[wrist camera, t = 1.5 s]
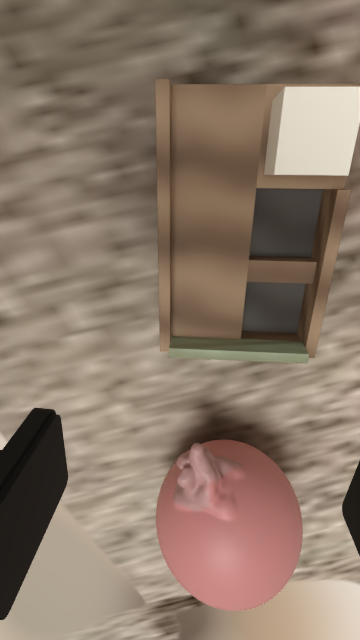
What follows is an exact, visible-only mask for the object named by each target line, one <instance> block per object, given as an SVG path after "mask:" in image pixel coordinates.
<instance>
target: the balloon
mask: <svg viewBox="0 0 360 640" xmlns="http://www.w3.org/2000/svg"><path fill="white" fill-rule="evenodd" d="M156 527H157V535H158V540H159V544H160V548H161V551H162V554H163V556H164V559H165V561H166V563H167V565H168V567H169V569H170V570H171V572H172V574H173V575H174V577H175V578H176V579H177V581H178V582H179V583H180V584H181V585H182V586H183V587H184V588H185V589H186V590H187V591H188V592H189V593H190V594H191V595H193V596H194V597H195V598H197V599H198V600H200V601H202V602H203V603H205V604H207V605H210V606H213V607H215V608H219V609H223V610H230V611H239V610H240V611H241V610H247V609H252V608H255V607H258V606H260V605H262V604H263V603H266V602H267V601H269V600H270V599H272V598H273V597H274V596H276V595H277V594H278V593H279V592H280V591H281V590H282V589H283V588H284V586H285V585H286V584H287V582H288V581H289V579H290V578H291V576H292V574H293V572H294V570H295V568H296V565H297V562H298V559H299V556H300V552H301V546H302V534H303V531H302V517H301V512H300V507H299V504H298V500H297V497H296V495H295V492H294V490H293V488H292V486H291V484H290V482H289V481H288V479H287V477H286V476H285V474H284V473H283V472H282V470H281V469H280V468H279V467H278V465H277V464H276V463H275V462H274V461H273V460H272V459H270V458H269V457H268V456H267V455H266V454H264V453H263V452H261V451H260V450H258V449H257V448H255V447H253V446H251V445H248V444H246V443H243V442H239V441H235V440H213V441H208V442H205V443H202V444H199V443H194V444H193V445H192V447H191V449H190V450H189V451H187V452H185V453H183V454H181V455H180V456H179V457H178V459H177V461H176V462H175V463H174V465H173V466H172V467H171V469H170V470H169V472H168V474H167V475H166V477H165V479H164V482H163V484H162V487H161V490H160V493H159V497H158V502H157V510H156Z"/></svg>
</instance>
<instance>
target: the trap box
mask: <svg viewBox="0 0 360 640" xmlns="http://www.w3.org/2000/svg"><path fill="white" fill-rule="evenodd" d="M284 87H360V84H171V82H170V79H155V89H156V147H157V205H158V263H159V321H160V351H168V352H169V357H171V358H194V359H217V360H240V361H262V362H285V363H307V362H308V358H314V357H315V353H316V348H317V344H318V339H319V335H320V330H321V326H322V321H323V316H324V312H325V307H326V303H327V298H328V294H329V289H330V285H331V280H332V275H333V271H334V266H335V262H336V257H337V253H338V248H339V244H340V239H341V234H342V230H343V225H344V221H345V216H346V212H347V207H348V203H349V198H350V193H351V190H345V189H344V186H345V182H346V177H347V176H326V175H264V170H265V161H266V152H267V143H268V134H269V125H270V116H271V107H272V100H273V99H274V98H275V97H276V96H277V95H278V94H279V93H280V92H281V90H282V89H283V88H284Z"/></svg>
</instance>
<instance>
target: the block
mask: <svg viewBox="0 0 360 640" xmlns="http://www.w3.org/2000/svg"><path fill="white" fill-rule="evenodd" d="M359 123H360V87H284V88H283V89H282V90H281V92H280V93H279V94H278V95H277V96H276V97H275V98H274V99H273V100H272V107H271V116H270V125H269V134H268V143H267V152H266V161H265V170H264V175H326V176H348V175H349V170H350V166H351V161H352V156H353V151H354V147H355V142H356V137H357V133H358V128H359Z"/></svg>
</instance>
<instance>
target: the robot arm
mask: <svg viewBox="0 0 360 640" xmlns="http://www.w3.org/2000/svg"><path fill="white" fill-rule="evenodd" d="M67 480H68V471H67V463H66V456H65V448H64V440H63V432H62V424H61V417H60V415H56V413H55V410H53V409H43V408H34V409H33V410H32V411H31V412H30V414H29V415H28V416H27V418H26V419H25V420H24V422H23V423H22V424H21V426H20V427H19V428H18V430H17V431H16V432H15V434H14V435H13V436H12V438H11V439H10V440H9V442H8V443H7V444H6V446H5V447H4V449H3V450H0V620H4V619H5V618H6V617H7V615H8V613H9V611H10V609H11V607H12V605H13V603H14V601H15V598H16V596H17V594H18V592H19V590H20V587H21V585H22V583H23V581H24V578H25V576H26V574H27V572H28V570H29V567H30V565H31V563H32V561H33V559H34V556H35V554H36V552H37V550H38V547H39V545H40V543H41V541H42V539H43V536H44V534H45V532H46V529H47V528H48V525H49V523H50V521H51V519H52V516H53V514H54V512H55V510H56V508H57V505H58V503H59V501H60V499H61V497H62V494H63V492H64V490H65V487H66V485H67ZM342 512H343V516H344V519H345V521H346V524H347V526H348V529H349V531H350V534H351V536H352V538H353V541H354V543H355V546H356V548H357V551H358V553H359V555H360V461H359V464H358V466H357V469H356V471H355V474H354V476H353V479H352V481H351V484H350V486H349V489H348V491H347V494H346V496H345V499H344V501H343V505H342Z"/></svg>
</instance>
